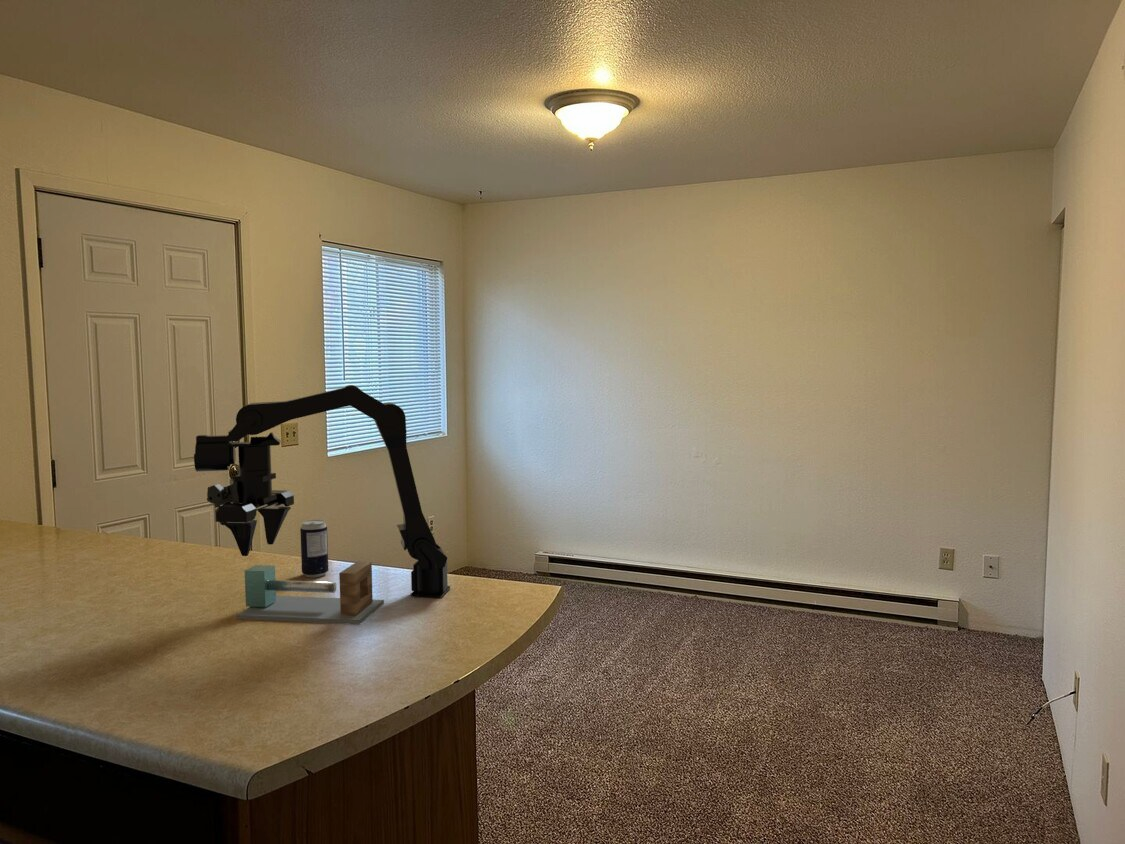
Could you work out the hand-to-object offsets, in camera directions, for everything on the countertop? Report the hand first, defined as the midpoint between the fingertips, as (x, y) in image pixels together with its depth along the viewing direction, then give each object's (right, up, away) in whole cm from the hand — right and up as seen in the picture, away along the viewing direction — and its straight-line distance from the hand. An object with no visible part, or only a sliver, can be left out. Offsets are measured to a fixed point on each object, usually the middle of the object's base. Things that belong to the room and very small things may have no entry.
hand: (258, 549), depth 150 cm
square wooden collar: (+19, -12, -2) cm, 23 cm away
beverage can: (+3, -10, +25) cm, 27 cm away
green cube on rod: (+7, -11, 0) cm, 12 cm away
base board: (+11, -12, 0) cm, 16 cm away
